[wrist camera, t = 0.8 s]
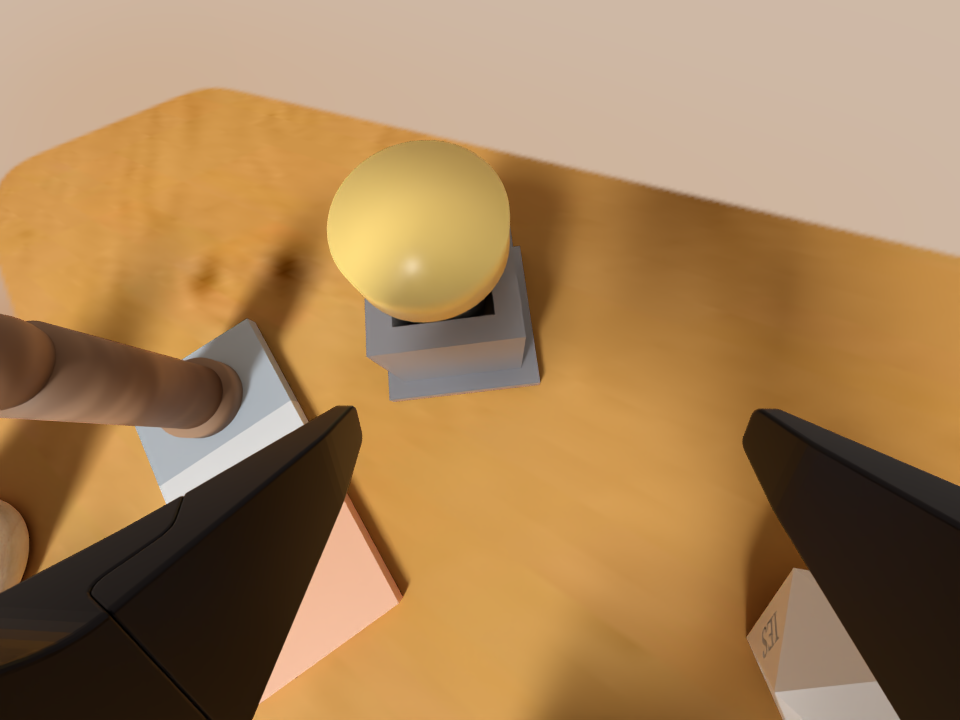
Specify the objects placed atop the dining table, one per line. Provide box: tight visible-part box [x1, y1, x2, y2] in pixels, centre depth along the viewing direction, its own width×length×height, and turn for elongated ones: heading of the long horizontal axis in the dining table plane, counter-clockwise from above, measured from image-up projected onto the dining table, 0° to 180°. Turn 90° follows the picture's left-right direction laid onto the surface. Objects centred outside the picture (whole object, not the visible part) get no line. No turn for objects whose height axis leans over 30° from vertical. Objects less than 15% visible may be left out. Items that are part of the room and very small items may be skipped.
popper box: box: [365, 229, 540, 402], centre depth 20 cm, size 9×9×7 cm
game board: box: [135, 319, 403, 704], centre depth 22 cm, size 20×9×1 cm, turn 34°
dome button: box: [327, 140, 510, 323], centre depth 16 cm, size 6×6×7 cm
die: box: [746, 568, 900, 720], centre depth 14 cm, size 8×9×10 cm
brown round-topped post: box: [0, 314, 243, 438], centre depth 17 cm, size 5×5×12 cm
